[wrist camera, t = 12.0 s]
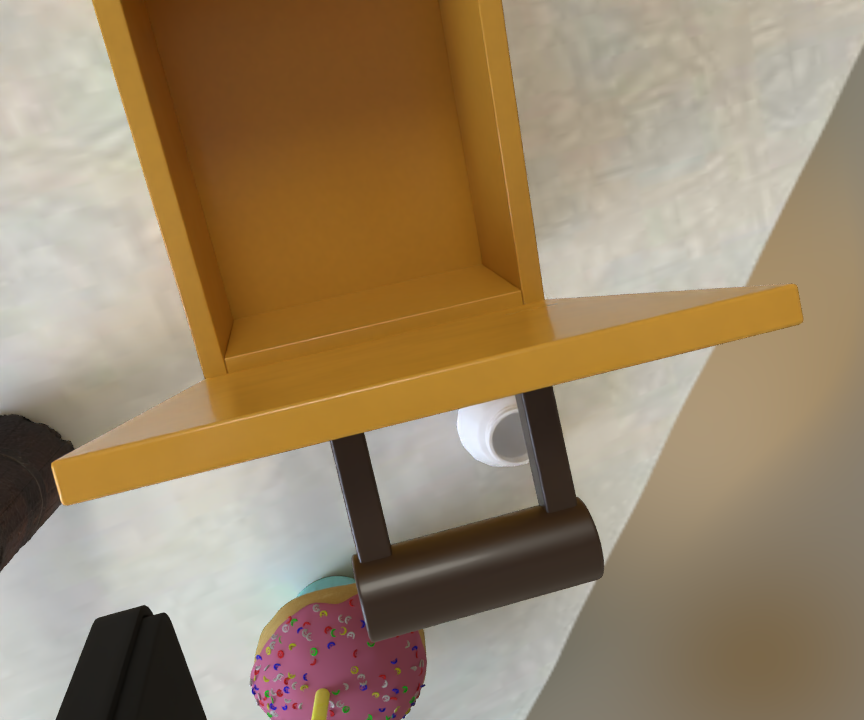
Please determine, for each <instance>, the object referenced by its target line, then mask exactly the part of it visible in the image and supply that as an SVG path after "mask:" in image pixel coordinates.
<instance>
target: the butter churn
mask: <svg viewBox="0 0 864 720" xmlns="http://www.w3.org/2000/svg"><path fill="white" fill-rule="evenodd" d="M60 438H61V435H60V434H59V433H57V432H56V431H55V430H54V429H51V428H49V426H47V425H45V424H42V423H41V424H40V423H39V424H38V423H34V422H32V421H30V420H29V419H27V418H25V417H23V416H19V415H13V414H12V415H4V416H2V415H0V572H1V570H2V569H3V568H4V566H6V565H7V564H8V563H9V561H10V560H11V559H12V558H13V556H14V555H15V554H16V553H17V552H18V551H19V549H20V548H21V547H22V546H24V545H25V544H26V543H27V542H28V541H29V540H30V539H31V537H32V536H33V535H34V534H35V533H36V531H37V530H38V529H39V528H40V527H41V526H42V525H43V524H44V522H45V521H46V520H47V519H48V518H49V517H50V516H51V515H52V514H53V513H54V511H55V510H56V509H57V508H58V507H59V506H60V505H61V504H62V503H61V501H60V497H59V494H58V490H57V487H56V483H55V479H54V476H53V472H52V468H51V464H52V462H54V461H55V460H57V459H59V458H60V457H62V456H64V455H66V454H68V453H70V452H72V451H73V450H74V449H73V447H72V446H73V445H72V443H71V441H66V440H61V439H60Z"/></svg>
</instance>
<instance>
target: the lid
mask: <svg viewBox="0 0 864 720" xmlns="http://www.w3.org/2000/svg"><path fill="white" fill-rule="evenodd" d="M802 322H803V314H802V308H801V303H800V298H799V292H798V287H797V285H795V284H792V283H791V284H777V285H761V286H745V287H730V288H715V289H699V290H684V291H669V292H654V293H638V294H623V295H608V296H592V297H577V298H562V299H547V300H542V301H538V302H533V303H529V304H525V305H521V306H516V307H512V308H508V309H503V310H499V311H495V312H491V313H486V314H482V315H478V316H473V317H469V318H465V319H460V320H456V321H452V322H448V323H443V324H439V325H435V326H430V327H426V328H422V329H418V330H413V331H409V332H405V333H400V334H396V335H392V336H388V337H383V338H379V339H375V340H370V341H366V342H362V343H358V344H353V345H349V346H345V347H340V348H336V349H332V350H328V351H323V352H319V353H315V354H310V355H306V356H302V357H298V358H293V359H289V360H285V361H280V362H276V363H272V364H267V365H263V366H259V367H255V368H250V369H246V370H242V371H237V372H233V373H229V374H225V375H220V376H216V377H212V378H207V379H204V380H202V381H201V382H199V383H197V384H195V385H193V386H191V387H189V388H188V389H186V390H184V391H182V392H180V393H178V394H177V395H175V396H173V397H171V398H169V399H167V400H166V401H164V402H162V403H160V404H158V405H156V406H154V407H153V408H151V409H149V410H147V411H145V412H143V413H142V414H140V415H138V416H136V417H134V418H132V419H130V420H129V421H127V422H125V423H123V424H121V425H119V426H118V427H116V428H114V429H112V430H110V431H108V432H107V433H105V434H103V435H101V436H99V437H97V438H95V439H94V440H92V441H90V442H88V443H86V444H84V445H83V446H81V447H79V448H77V449H75V450H73V451H72V452H70V453H68V454H66V455H64V456H62V457H60V458H59V459H57V460H55V461H54V462H52V464H51V468H52V472H53V476H54V479H55V483H56V487H57V490H58V494H59V497H60V501H61V503H62V505H66V506H69V505H73V504H77V503H81V502H85V501H89V500H93V499H97V498H101V497H105V496H109V495H113V494H117V493H121V492H125V491H129V490H133V489H137V488H141V487H145V486H149V485H153V484H157V483H162V482H166V481H170V480H174V479H178V478H182V477H186V476H190V475H194V474H198V473H202V472H206V471H210V470H214V469H218V468H222V467H226V466H230V465H234V464H238V463H242V462H246V461H250V460H254V459H258V458H263V457H267V456H271V455H275V454H279V453H283V452H287V451H291V450H295V449H299V448H303V447H307V446H311V445H315V444H319V443H323V442H327V441H330V444H331V448H332V452H333V456H334V460H335V464H336V469H337V473H338V477H339V481H340V485H341V489H342V493H343V498H344V502H345V506H346V510H347V514H348V518H349V522H350V527H351V531H352V535H353V539H354V543H355V547H356V551H357V554H354V555H353V556H352V566H353V572H354V577H355V582H356V587H357V591H358V596H359V600H360V604H361V609H362V613H363V617H364V621H365V625H366V629H367V632H368V636H369V639H370V640H371V642H378V641H381V640H385V639H388V638H392V637H396V636H399V635H403V634H406V633H410V632H413V631H417V630H420V629H424V628H428V627H431V626H435V625H438V624H442V623H445V622H449V621H452V620H456V619H459V618H463V617H467V616H470V615H474V614H477V613H481V612H484V611H488V610H491V609H495V608H499V607H502V606H506V605H509V604H513V603H516V602H520V601H523V600H527V599H531V598H534V597H538V596H541V595H545V594H548V593H552V592H555V591H559V590H563V589H566V588H570V587H573V586H577V585H580V584H584V583H587V582H591V581H595V580H598V579H600V578H601V577H602V576H603V573H604V559H603V552H602V547H601V542H600V539H599V535H598V532H597V529H596V526H595V524H594V521H593V519H592V517H591V515H590V513H589V511H588V509H587V507H586V506H585V504H584V503H583V501H582V500H581V499H580V498H579V497H576V494H575V489H574V485H573V480H572V475H571V470H570V466H569V461H568V456H567V452H566V447H565V442H564V438H563V433H562V428H561V424H560V419H559V414H558V410H557V405H556V400H555V396H554V391H553V385H557V384H561V383H565V382H570V381H574V380H578V379H582V378H586V377H590V376H594V375H598V374H602V373H606V372H610V371H614V370H618V369H622V368H626V367H630V366H634V365H638V364H642V363H646V362H650V361H654V360H658V359H662V358H666V357H671V356H675V355H679V354H683V353H687V352H691V351H695V350H699V349H703V348H707V347H711V346H715V345H719V344H723V343H727V342H731V341H735V340H739V339H743V338H747V337H751V336H755V335H759V334H763V333H767V332H772V331H776V330H779V329H784V328H788V327H791V326H796V325H799V324H801V323H802ZM513 395H515V398H516V403H517V407H518V412H519V417H520V421H521V426H522V430H523V435H524V439H525V444H526V449H527V453H528V458H529V462H530V467H531V471H532V476H533V481H534V485H535V490H536V494H537V499H538V503H539V505H538V506H534V507H530V508H527V509H523V510H519V511H515V512H512V513H508V514H504V515H500V516H497V517H493V518H489V519H485V520H482V521H478V522H474V523H470V524H467V525H463V526H459V527H455V528H452V529H448V530H444V531H440V532H437V533H433V534H429V535H425V536H422V537H418V538H414V539H410V540H407V541H403V542H399V543H395V544H392V545H391V544H390V540H389V536H388V531H387V527H386V523H385V519H384V515H383V510H382V506H381V502H380V498H379V494H378V489H377V485H376V481H375V477H374V472H373V468H372V464H371V460H370V456H369V451H368V447H367V443H366V439H365V435H364V432H368V431H372V430H376V429H380V428H384V427H388V426H392V425H396V424H400V423H404V422H408V421H412V420H416V419H420V418H424V417H428V416H432V415H436V414H440V413H444V412H448V411H452V410H456V409H460V408H464V407H469V406H473V405H477V404H481V403H485V402H489V401H493V400H497V399H501V398H505V397H509V396H513Z"/></svg>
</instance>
